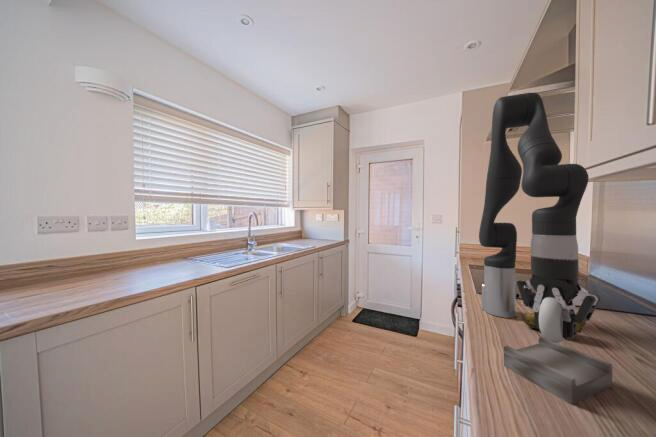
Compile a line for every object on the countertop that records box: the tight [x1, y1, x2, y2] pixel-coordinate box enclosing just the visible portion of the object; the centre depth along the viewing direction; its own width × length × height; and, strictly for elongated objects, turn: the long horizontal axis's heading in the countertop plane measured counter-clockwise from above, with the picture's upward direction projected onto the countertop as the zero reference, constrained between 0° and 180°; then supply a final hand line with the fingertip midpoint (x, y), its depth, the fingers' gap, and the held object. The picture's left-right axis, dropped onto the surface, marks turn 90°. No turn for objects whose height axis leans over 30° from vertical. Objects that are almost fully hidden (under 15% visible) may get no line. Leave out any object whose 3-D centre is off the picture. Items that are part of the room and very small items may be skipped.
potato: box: [523, 312, 587, 334], centre depth 70 cm, size 8×13×8 cm, turn 28°
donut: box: [539, 297, 566, 344], centre depth 51 cm, size 10×4×10 cm, turn 123°
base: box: [503, 336, 613, 405], centre depth 51 cm, size 12×14×4 cm
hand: (554, 332), depth 51 cm, fingers closed on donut, 4 cm apart
